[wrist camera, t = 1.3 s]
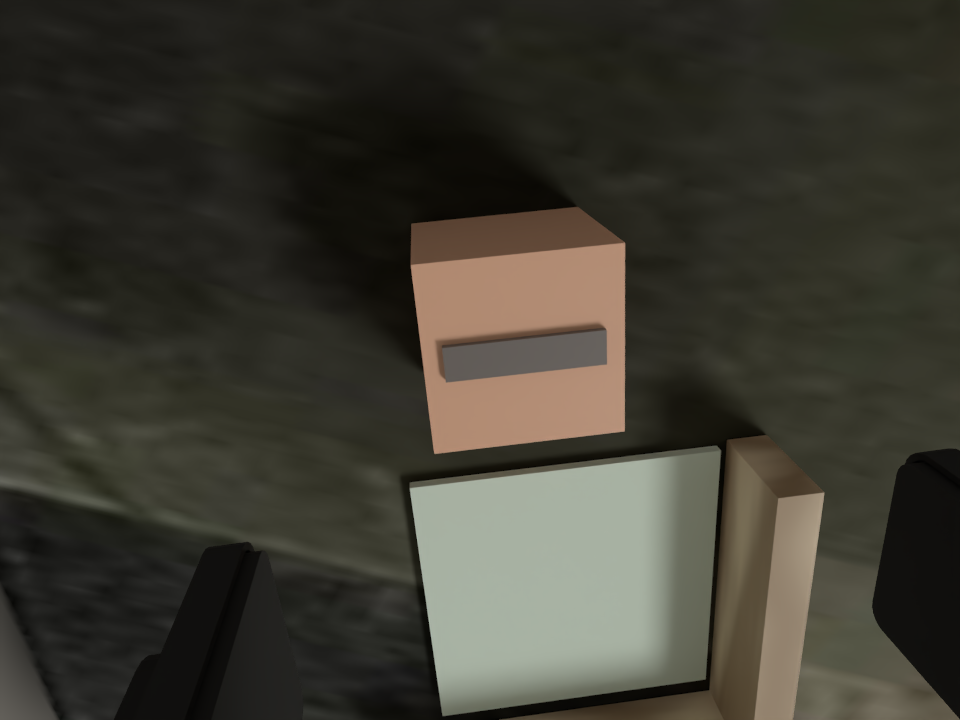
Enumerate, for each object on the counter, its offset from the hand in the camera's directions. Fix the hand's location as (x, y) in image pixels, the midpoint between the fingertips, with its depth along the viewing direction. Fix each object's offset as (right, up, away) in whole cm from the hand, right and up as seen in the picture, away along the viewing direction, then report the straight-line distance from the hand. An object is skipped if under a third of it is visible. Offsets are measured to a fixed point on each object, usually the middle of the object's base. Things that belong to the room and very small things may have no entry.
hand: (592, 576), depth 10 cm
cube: (-1, +5, +13) cm, 14 cm away
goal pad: (+2, -6, +18) cm, 19 cm away
